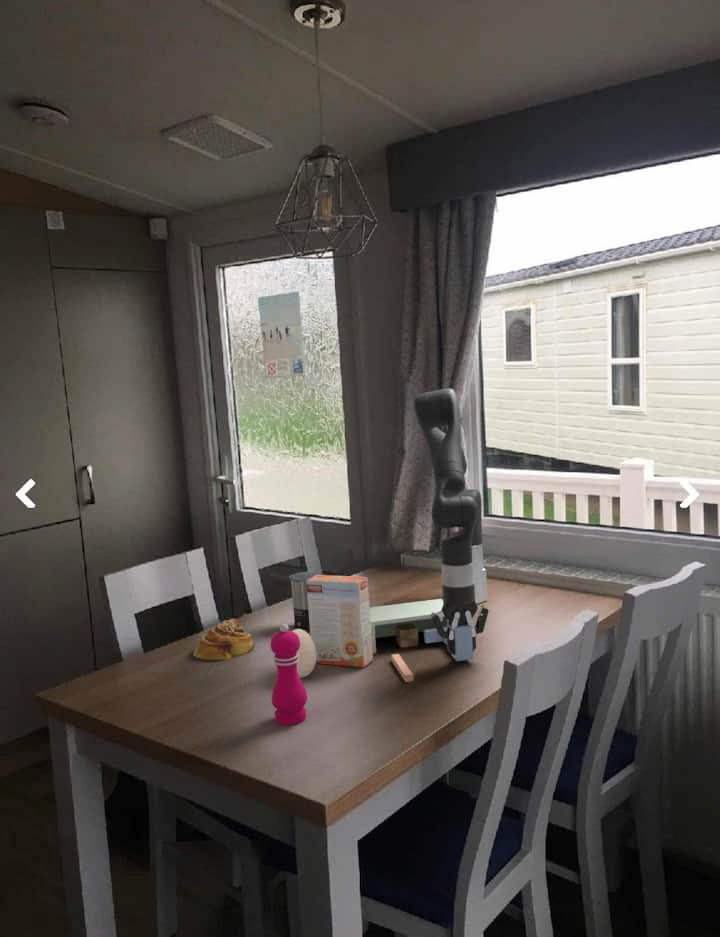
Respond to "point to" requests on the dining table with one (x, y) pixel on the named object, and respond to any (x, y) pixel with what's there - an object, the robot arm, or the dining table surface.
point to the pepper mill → (287, 679)
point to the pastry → (224, 642)
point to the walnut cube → (407, 635)
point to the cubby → (403, 617)
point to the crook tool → (461, 640)
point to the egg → (305, 653)
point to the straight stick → (402, 667)
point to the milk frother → (301, 599)
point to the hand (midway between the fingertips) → (461, 651)
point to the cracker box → (340, 620)
